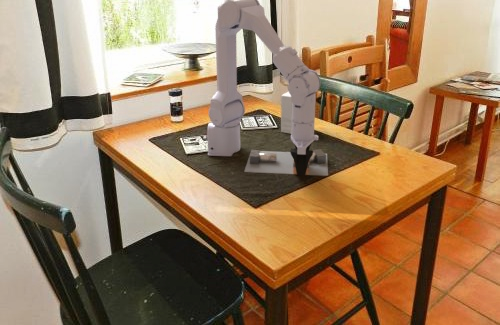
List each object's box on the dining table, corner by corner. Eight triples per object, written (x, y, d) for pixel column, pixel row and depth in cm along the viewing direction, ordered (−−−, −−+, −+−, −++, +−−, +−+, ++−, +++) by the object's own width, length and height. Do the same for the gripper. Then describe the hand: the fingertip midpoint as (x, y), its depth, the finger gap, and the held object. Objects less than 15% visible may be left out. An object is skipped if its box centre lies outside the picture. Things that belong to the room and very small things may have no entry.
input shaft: (249, 167, 125) (249, 156, 123) (251, 160, 128) (251, 149, 127) (275, 168, 124) (275, 157, 122) (277, 161, 128) (277, 150, 126)
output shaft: (300, 169, 123) (300, 158, 121) (295, 162, 127) (296, 151, 125) (325, 166, 124) (326, 155, 123) (320, 160, 128) (320, 149, 127)
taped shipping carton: (293, 174, 118) (293, 156, 116) (293, 167, 122) (294, 150, 120) (308, 174, 118) (309, 157, 116) (309, 167, 121) (309, 150, 119)
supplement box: (310, 129, 150) (311, 92, 145) (300, 136, 145) (301, 98, 139) (290, 125, 154) (291, 89, 148) (280, 132, 148) (280, 94, 143)
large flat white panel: (244, 175, 120) (244, 171, 120) (251, 153, 133) (251, 150, 132) (327, 179, 118) (328, 175, 117) (326, 156, 130) (327, 153, 130)
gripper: (319, 130, 107) (316, 181, 112) (319, 111, 120) (316, 157, 125) (289, 129, 107) (288, 180, 113) (292, 110, 120) (291, 156, 126)
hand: (301, 168), depth 119 cm, fingers open, 6 cm apart
